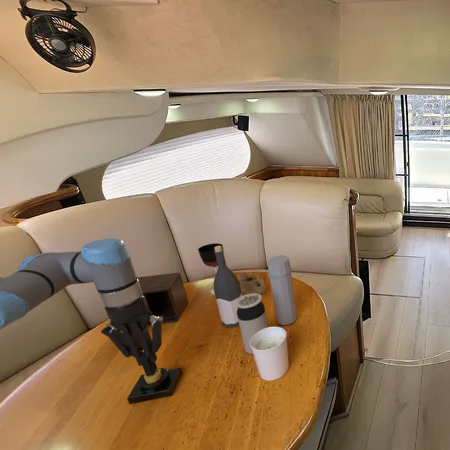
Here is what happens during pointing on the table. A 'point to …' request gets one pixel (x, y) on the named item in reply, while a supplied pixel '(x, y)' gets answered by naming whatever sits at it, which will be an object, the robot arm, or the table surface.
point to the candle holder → (270, 352)
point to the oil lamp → (251, 284)
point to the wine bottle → (226, 290)
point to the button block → (155, 386)
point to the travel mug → (251, 317)
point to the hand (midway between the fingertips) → (152, 372)
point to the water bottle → (282, 289)
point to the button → (153, 377)
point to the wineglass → (209, 256)
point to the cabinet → (164, 296)
